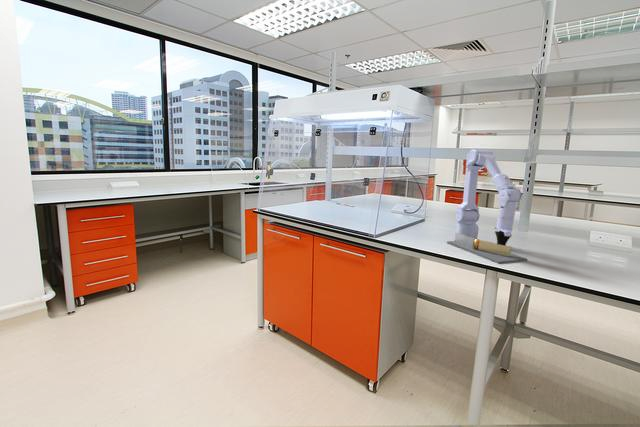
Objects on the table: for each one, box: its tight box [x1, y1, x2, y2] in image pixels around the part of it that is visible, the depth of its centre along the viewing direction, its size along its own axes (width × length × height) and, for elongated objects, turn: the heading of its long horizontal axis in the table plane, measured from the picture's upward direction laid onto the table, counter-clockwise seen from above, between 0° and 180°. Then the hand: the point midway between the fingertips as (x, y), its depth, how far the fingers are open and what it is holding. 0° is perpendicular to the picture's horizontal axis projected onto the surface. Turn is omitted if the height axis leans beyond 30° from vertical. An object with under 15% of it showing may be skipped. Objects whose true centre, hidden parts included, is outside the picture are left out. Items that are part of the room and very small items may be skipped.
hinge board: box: [446, 240, 529, 264], centre depth 139 cm, size 16×28×1 cm, turn 20°
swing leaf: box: [474, 238, 512, 256], centre depth 134 cm, size 2×14×4 cm, turn 47°
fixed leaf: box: [454, 232, 475, 249], centre depth 144 cm, size 1×11×4 cm, turn 21°
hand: (500, 248), depth 133 cm, fingers closed
